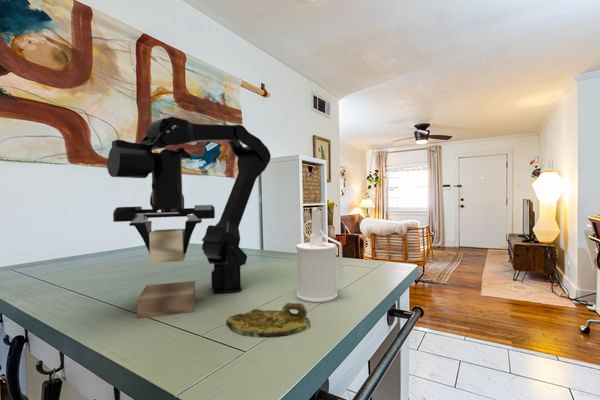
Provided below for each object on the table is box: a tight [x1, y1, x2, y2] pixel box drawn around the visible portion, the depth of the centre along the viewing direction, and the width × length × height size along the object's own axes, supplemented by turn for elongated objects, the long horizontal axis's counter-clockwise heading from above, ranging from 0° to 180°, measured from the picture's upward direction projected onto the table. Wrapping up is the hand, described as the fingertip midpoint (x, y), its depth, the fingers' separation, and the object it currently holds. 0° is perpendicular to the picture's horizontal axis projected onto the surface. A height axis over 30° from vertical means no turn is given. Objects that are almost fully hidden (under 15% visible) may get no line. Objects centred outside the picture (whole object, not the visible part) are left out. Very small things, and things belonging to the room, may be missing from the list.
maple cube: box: [149, 228, 187, 264], centre depth 63 cm, size 6×6×6 cm
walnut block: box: [136, 280, 196, 320], centre depth 63 cm, size 10×10×4 cm
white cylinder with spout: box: [295, 207, 343, 303], centre depth 68 cm, size 10×9×20 cm
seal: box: [225, 302, 311, 338], centre depth 52 cm, size 9×5×15 cm
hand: (168, 254), depth 63 cm, fingers closed on maple cube, 6 cm apart
